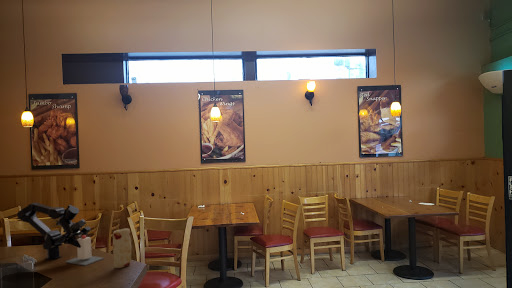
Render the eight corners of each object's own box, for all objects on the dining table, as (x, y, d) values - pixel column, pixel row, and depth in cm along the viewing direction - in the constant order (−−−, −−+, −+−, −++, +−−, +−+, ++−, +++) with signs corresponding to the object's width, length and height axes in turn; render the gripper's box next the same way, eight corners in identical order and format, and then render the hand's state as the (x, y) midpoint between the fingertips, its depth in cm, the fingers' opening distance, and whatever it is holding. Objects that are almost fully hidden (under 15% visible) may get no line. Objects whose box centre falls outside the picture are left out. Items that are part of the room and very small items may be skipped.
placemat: (65, 262, 206) (65, 261, 206) (84, 256, 217) (84, 254, 217) (85, 265, 199) (85, 264, 199) (103, 258, 210) (103, 257, 210)
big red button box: (77, 258, 207) (76, 236, 206) (84, 256, 211) (83, 234, 211) (84, 259, 205) (83, 236, 205) (91, 256, 210) (90, 234, 210)
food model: (117, 270, 189) (115, 231, 189) (111, 268, 194) (109, 229, 193) (134, 265, 197) (133, 227, 196) (128, 262, 201) (126, 226, 201)
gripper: (61, 219, 201) (78, 240, 197) (87, 212, 218) (103, 232, 215) (51, 233, 204) (67, 254, 200) (77, 225, 221) (93, 244, 218)
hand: (84, 246), depth 208 cm, fingers closed on big red button box, 5 cm apart
